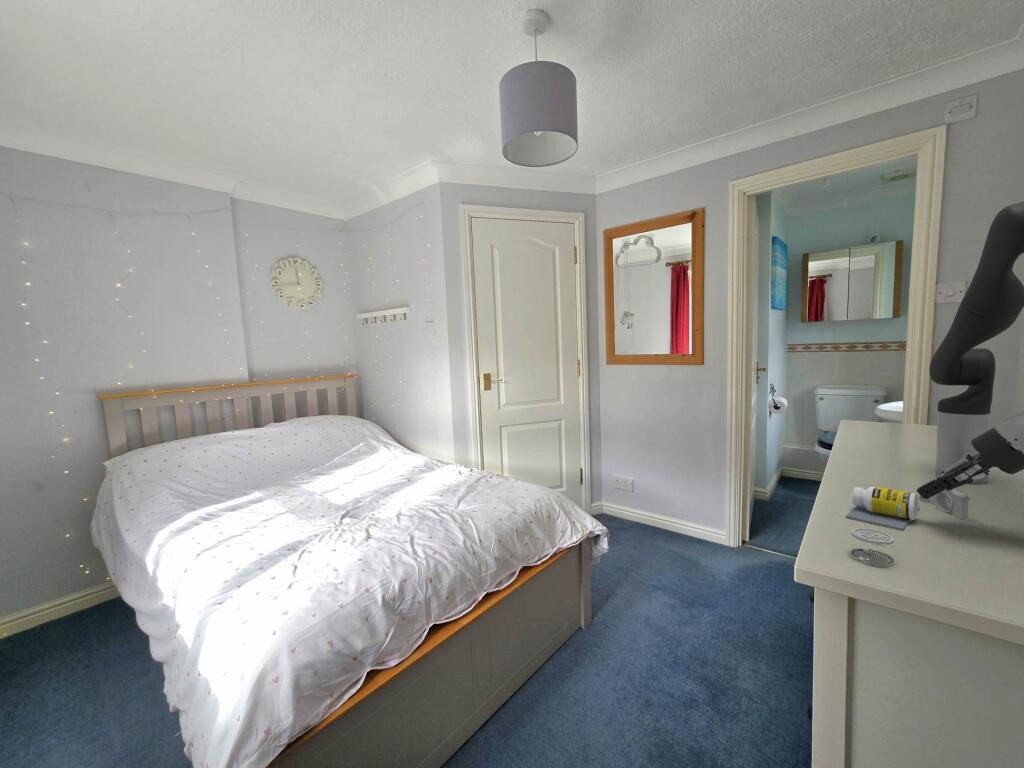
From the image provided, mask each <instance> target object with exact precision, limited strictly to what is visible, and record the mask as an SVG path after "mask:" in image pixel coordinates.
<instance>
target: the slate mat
mask: <svg viewBox="0 0 1024 768" xmlns="http://www.w3.org/2000/svg"><path fill="white" fill-rule="evenodd" d="M919 508H921V507H920V506H918V511H919V510H920V509H919ZM845 519H849V520H853V521H854V520H855V521H859V522H862V521H863V522H864V523H866V522H867V524H871V525H875V524H876V525H877V526H881V527H884V526H885V528H889V527H890V529H893V528H894V530H897V529H898V530H899V531H904V530H905V529H906V528H907V526H909V524H908V523H911V521H912V520H910V519H904V518H899V517H894V516H889V515H884V514H879V513H874V512H870V511H868V510H867V508H866V506H863V507H861V506H856V505H855V507H854V508H853V509H852V510H851V511H849V513H847V514H846V515H845ZM863 522H862V523H863Z"/></svg>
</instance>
